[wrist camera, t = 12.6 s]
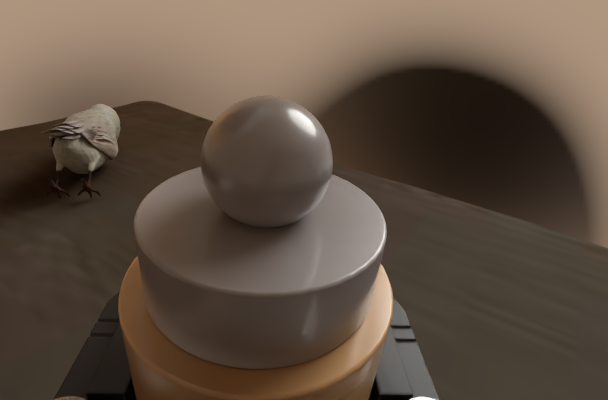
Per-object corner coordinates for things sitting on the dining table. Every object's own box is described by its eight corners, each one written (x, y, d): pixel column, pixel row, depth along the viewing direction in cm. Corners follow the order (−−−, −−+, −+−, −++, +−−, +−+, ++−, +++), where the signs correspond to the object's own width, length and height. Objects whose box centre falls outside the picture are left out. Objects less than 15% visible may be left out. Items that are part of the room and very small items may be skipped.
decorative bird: (135, 143, 49) (127, 86, 45) (102, 204, 36) (86, 130, 32) (91, 142, 48) (79, 84, 44) (40, 205, 34) (16, 129, 31)
